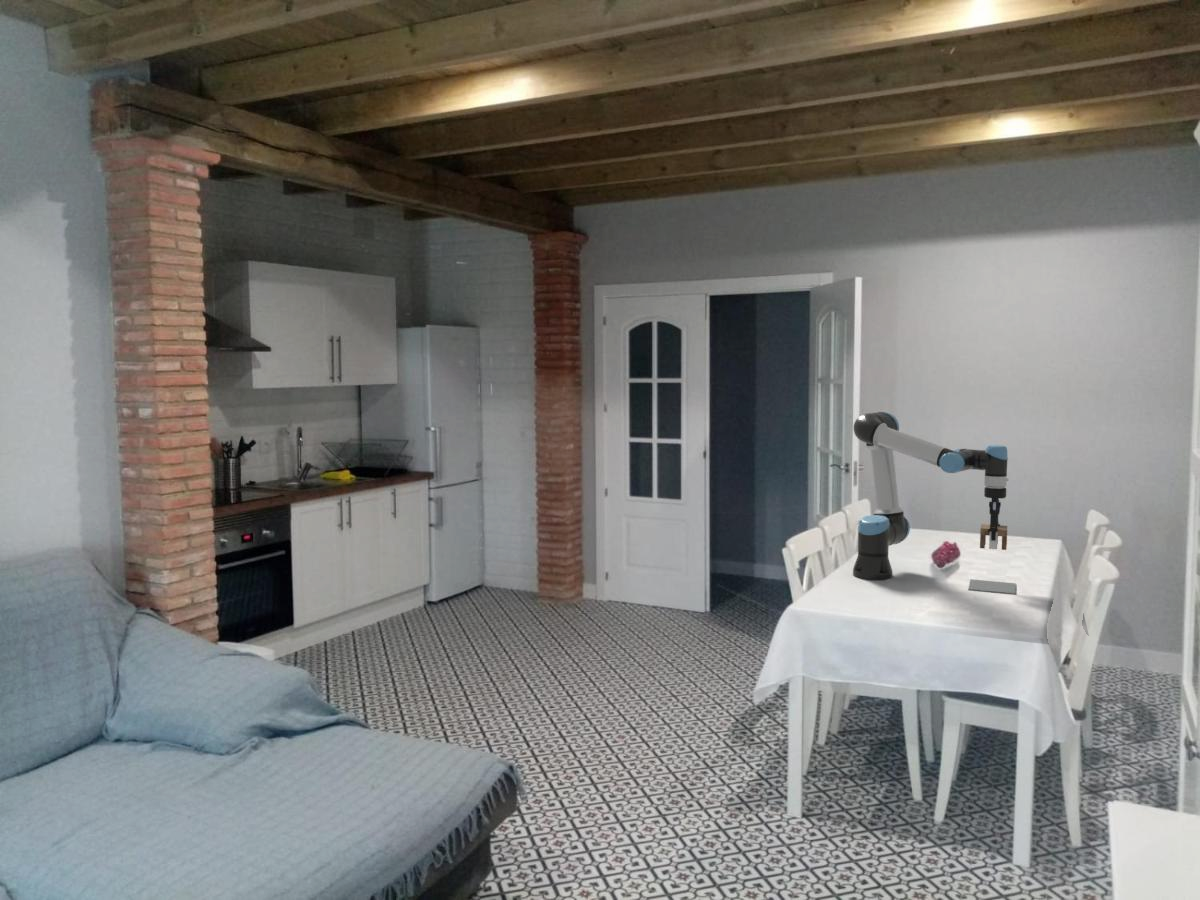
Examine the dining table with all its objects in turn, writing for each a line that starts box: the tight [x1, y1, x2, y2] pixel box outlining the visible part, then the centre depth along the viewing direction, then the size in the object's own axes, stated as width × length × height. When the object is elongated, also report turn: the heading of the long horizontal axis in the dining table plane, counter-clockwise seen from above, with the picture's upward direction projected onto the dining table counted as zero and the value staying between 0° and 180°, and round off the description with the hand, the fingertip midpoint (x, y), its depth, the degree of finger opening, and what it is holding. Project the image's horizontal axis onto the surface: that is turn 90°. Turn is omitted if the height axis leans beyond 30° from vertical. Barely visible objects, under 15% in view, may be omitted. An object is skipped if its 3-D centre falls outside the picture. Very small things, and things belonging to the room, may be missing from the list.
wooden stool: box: [979, 524, 1008, 551], centre depth 343 cm, size 9×9×8 cm
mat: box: [968, 579, 1017, 595], centre depth 345 cm, size 16×16×1 cm
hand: (993, 546), depth 344 cm, fingers closed on wooden stool, 9 cm apart
